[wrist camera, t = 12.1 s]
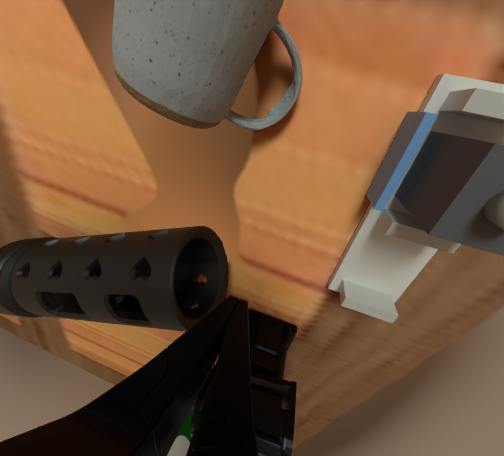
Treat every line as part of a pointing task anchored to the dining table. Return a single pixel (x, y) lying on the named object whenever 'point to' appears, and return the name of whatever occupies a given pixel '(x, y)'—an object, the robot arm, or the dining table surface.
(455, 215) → the dark grey knobbed block
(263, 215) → the dining table surface
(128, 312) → the muzzle brake
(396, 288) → the white ridged plate
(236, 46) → the ceramic mug
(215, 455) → the robot arm
